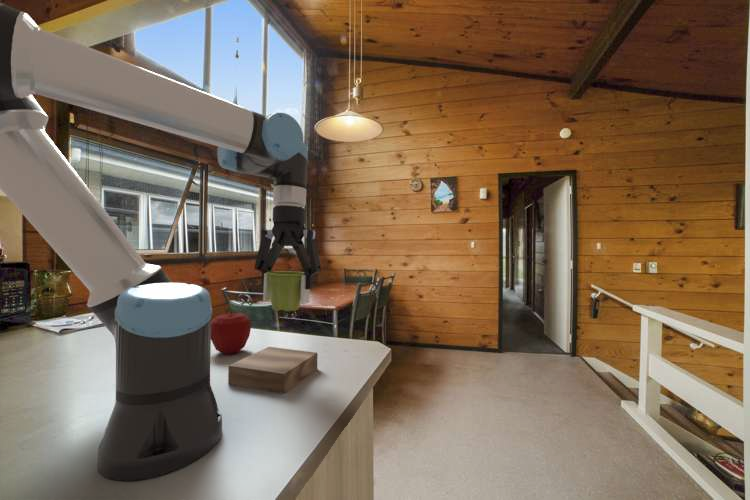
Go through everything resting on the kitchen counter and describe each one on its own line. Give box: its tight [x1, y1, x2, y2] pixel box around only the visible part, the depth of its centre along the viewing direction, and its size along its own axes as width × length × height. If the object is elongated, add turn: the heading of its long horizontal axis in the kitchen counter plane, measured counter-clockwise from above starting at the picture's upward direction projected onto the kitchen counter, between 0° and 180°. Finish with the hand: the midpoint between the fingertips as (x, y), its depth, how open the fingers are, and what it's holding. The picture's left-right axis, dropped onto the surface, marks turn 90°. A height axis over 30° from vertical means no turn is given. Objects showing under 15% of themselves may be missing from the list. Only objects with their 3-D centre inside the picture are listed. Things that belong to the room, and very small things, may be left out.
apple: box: [211, 311, 252, 355], centre depth 89 cm, size 11×11×12 cm
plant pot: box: [266, 270, 304, 312], centre depth 74 cm, size 9×9×9 cm
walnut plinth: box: [227, 346, 318, 394], centre depth 72 cm, size 14×14×4 cm
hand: (286, 301), depth 74 cm, fingers closed on plant pot, 9 cm apart
